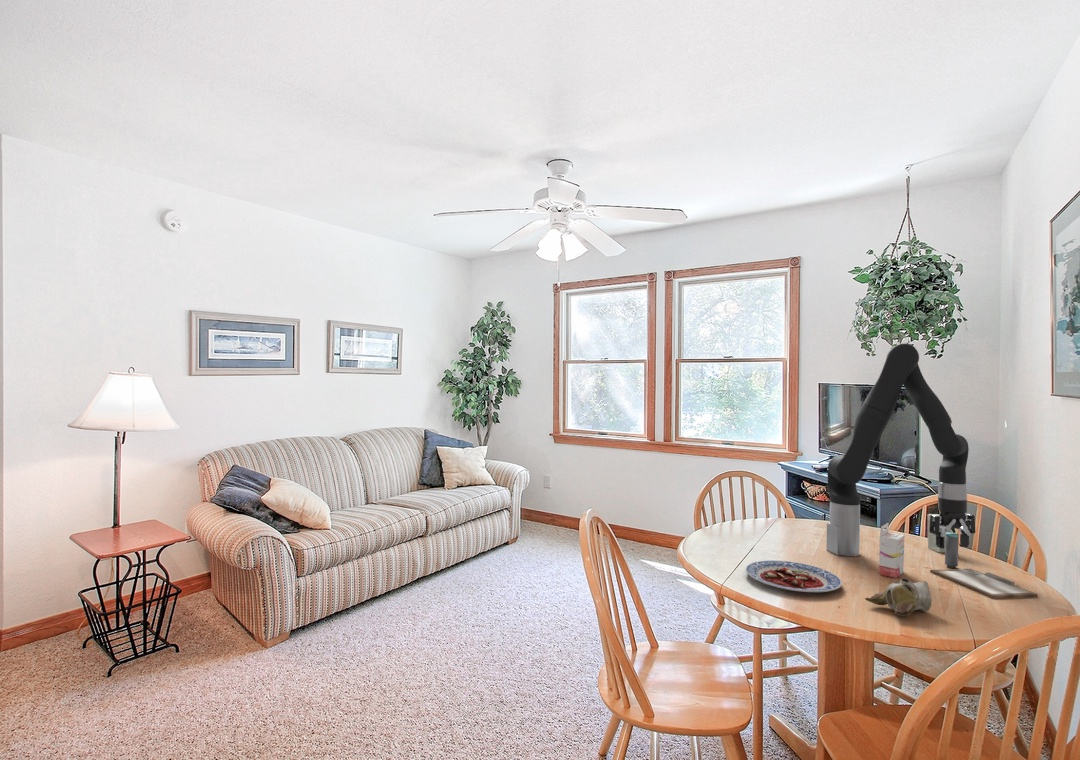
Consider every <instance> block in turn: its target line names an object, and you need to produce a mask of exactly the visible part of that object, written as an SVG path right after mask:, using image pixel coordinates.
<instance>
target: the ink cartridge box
mask: <svg viewBox="0 0 1080 760" xmlns="http://www.w3.org/2000/svg"><path fill="white" fill-rule="evenodd" d="M889 525H890V523H889V522H887V523H885V524H883V525H882V526H881V527H880V534H879V553H878V554H879V559H878V560H879V561H878V566H879V567H878V568H879V569H878V574H879V575H881V576H886V577H890V578H893V579H897V578H899V576H900V575H903V573H904V571H905V570H904V565H905V564H904V563H905V561H904V559H905V536H906V535H905V534H901V533H897V532H896V533H895V532H890V531H889Z"/></svg>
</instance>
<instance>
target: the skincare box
mask: <svg viewBox="0 0 1080 760" xmlns="http://www.w3.org/2000/svg"><path fill="white" fill-rule="evenodd" d="M931 515H936V516H939V515H940V513H939V514H937V513H934V514H933V513H928V514H927V548H928V549H929V550H932V551H934V552H937V553H944V554H945V547H944V548H939V547H937V545H936V535H935V534H932V533H930V516H931ZM943 527H944V525H943ZM934 530H935V527H934ZM941 531H942V530H941ZM948 532H952V529H950V530H949V531H948ZM944 545H945V535H944Z"/></svg>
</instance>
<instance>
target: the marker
mask: <svg viewBox="0 0 1080 760" xmlns="http://www.w3.org/2000/svg"><path fill="white" fill-rule="evenodd" d="M959 538H960V534H959V533H957V532H953V531H951V532H946V534H945V553H944V565H946V567H947V568H948V569H957V567H958V566H959Z"/></svg>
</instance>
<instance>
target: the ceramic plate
mask: <svg viewBox="0 0 1080 760" xmlns="http://www.w3.org/2000/svg"><path fill="white" fill-rule="evenodd" d="M745 572H746V574H747V575H748V576H749V577H751V578H752V579H753V580H755V581H757V582H760V583H762V584H765V585H767V586H772V587H774V588H777V589H781V590H786V591H789V592H796V593H797V592H798V593H826V592H827V593H828V592H832V591H835V590H838V589H840V588H841V587H842V585H843V582H842V581H843V580H842V579H841V578H840V577H838V575H836V574H834V573H832V572H830V571H829V570H826V569H825V568H824V569H823V568H821V567H818V566H815V565H810V564H806V563H800V562H795V561H787V560H786V561H785V560H759V561H755V562H752V563H750V564H748V565H746V567H745Z"/></svg>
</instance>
